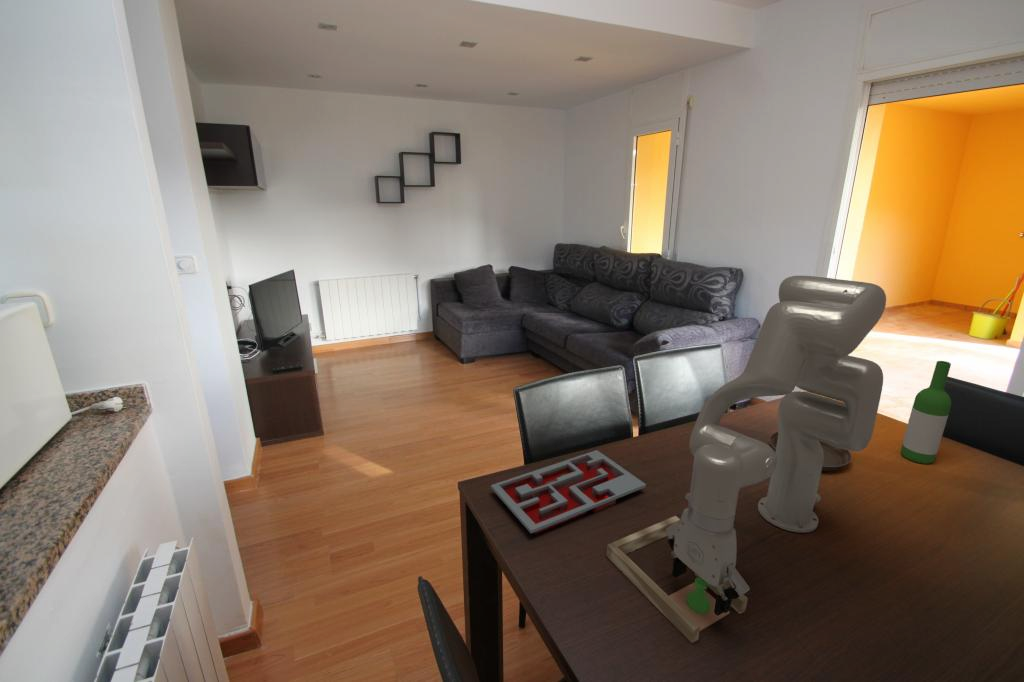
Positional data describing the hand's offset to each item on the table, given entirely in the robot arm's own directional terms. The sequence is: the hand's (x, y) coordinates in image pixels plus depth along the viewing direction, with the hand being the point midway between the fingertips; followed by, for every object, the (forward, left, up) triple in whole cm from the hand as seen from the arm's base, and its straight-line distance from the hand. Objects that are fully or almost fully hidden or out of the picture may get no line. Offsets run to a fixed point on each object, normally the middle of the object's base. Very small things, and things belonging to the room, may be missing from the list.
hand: (699, 591), depth 86 cm
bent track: (-3, -6, -3) cm, 8 cm away
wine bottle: (-99, -6, -4) cm, 99 cm away
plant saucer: (-72, -22, -4) cm, 75 cm away
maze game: (+2, -40, -4) cm, 40 cm away
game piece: (0, 0, -3) cm, 3 cm away
